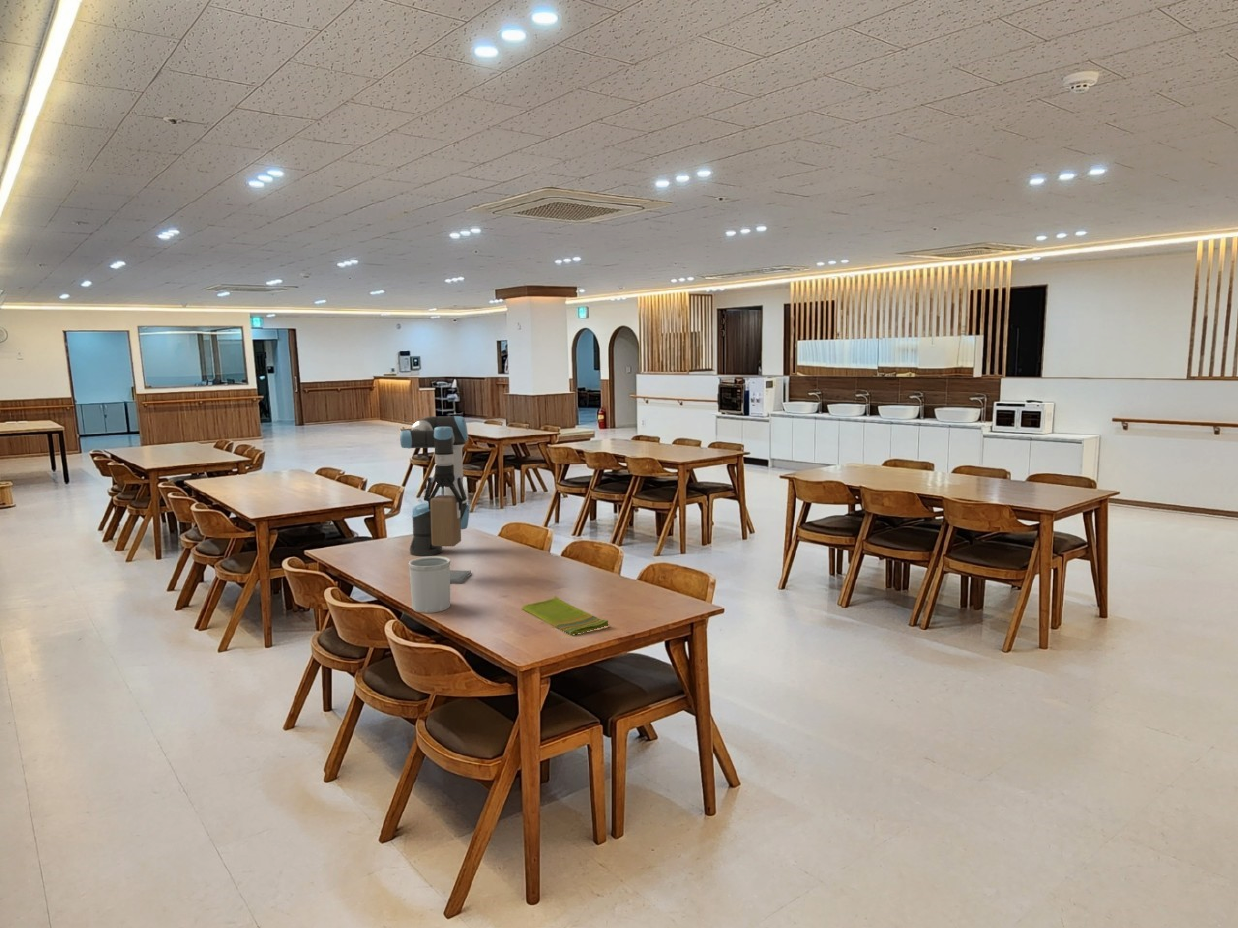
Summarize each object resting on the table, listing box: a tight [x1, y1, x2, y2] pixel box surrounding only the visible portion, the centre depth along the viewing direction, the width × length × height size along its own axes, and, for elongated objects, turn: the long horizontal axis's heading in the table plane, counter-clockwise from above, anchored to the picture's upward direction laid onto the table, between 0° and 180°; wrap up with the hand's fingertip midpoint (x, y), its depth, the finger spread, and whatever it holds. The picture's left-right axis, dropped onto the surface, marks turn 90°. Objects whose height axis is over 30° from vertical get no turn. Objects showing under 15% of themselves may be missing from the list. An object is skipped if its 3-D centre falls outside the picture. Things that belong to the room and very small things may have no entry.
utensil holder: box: [408, 555, 451, 614], centre depth 290 cm, size 15×15×18 cm
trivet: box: [450, 569, 472, 585], centre depth 331 cm, size 16×16×1 cm
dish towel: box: [521, 596, 610, 636], centre depth 278 cm, size 15×36×3 cm, turn 35°
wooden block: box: [430, 494, 462, 547], centre depth 328 cm, size 10×10×20 cm
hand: (445, 517), depth 328 cm, fingers closed on wooden block, 10 cm apart
